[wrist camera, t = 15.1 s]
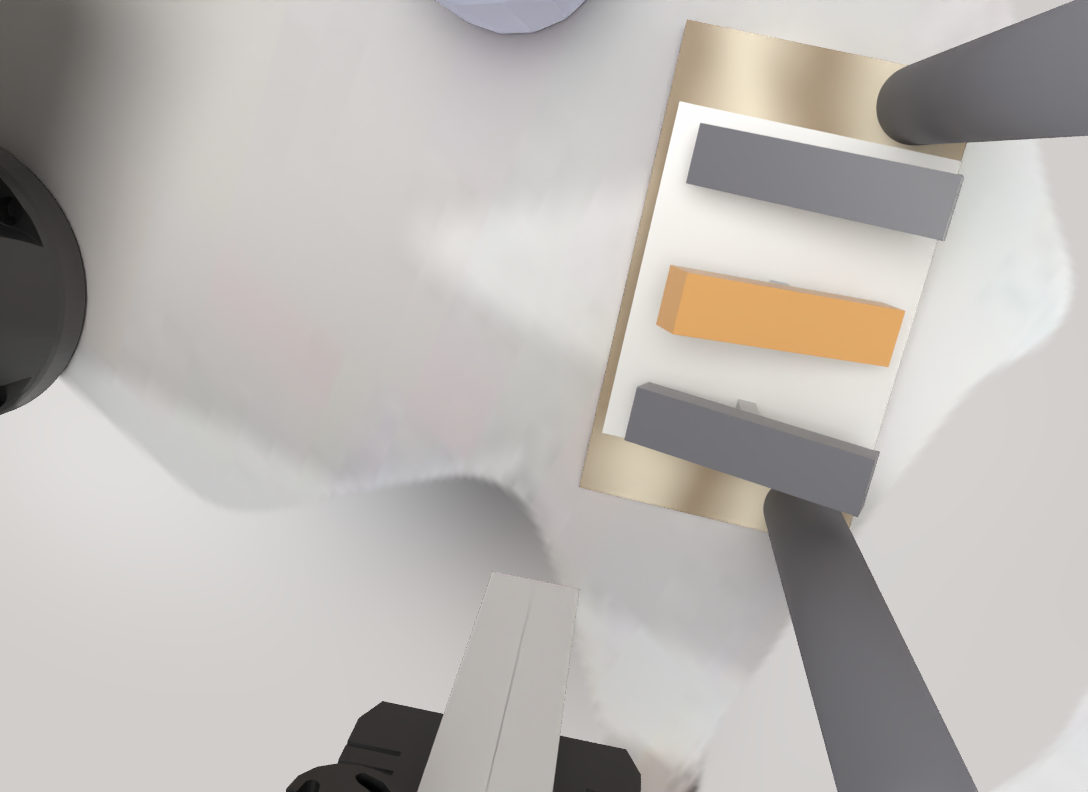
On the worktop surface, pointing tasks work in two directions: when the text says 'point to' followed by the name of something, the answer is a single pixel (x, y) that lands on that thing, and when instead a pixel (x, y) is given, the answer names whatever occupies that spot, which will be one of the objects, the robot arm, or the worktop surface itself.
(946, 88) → the posts
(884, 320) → the middle paddle
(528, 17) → the soap bottle
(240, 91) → the worktop surface
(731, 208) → the block
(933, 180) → the front paddle
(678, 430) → the bar
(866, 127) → the board
